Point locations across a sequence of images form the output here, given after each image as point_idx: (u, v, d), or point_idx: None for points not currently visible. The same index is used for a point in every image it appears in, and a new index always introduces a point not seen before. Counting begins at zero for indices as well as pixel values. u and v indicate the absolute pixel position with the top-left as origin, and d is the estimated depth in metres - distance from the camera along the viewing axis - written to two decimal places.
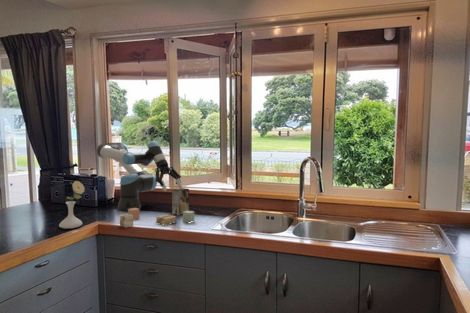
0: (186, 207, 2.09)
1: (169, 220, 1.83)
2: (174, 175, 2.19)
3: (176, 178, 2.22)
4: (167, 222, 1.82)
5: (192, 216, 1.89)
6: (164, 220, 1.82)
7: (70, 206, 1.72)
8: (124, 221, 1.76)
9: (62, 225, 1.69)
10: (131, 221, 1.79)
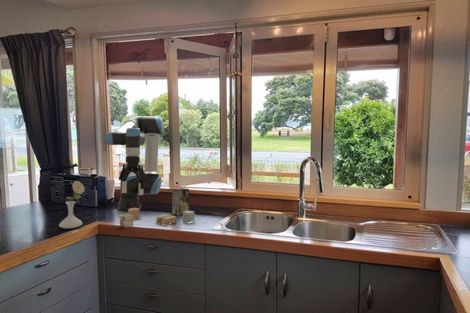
0: (186, 207, 2.09)
1: (169, 220, 1.83)
2: (137, 177, 1.76)
3: None
4: (167, 222, 1.82)
5: (192, 216, 1.89)
6: (163, 220, 1.82)
7: (70, 206, 1.72)
8: (124, 221, 1.76)
9: (62, 225, 1.69)
10: (131, 221, 1.79)
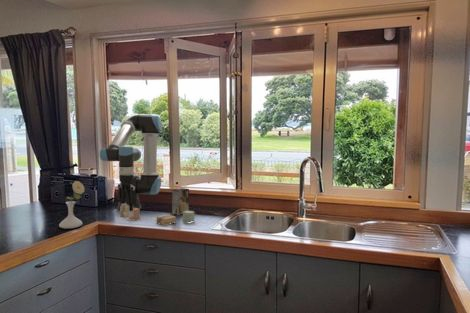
0: (186, 207, 2.09)
1: (168, 220, 1.83)
2: (127, 198, 1.77)
3: None
4: (166, 222, 1.82)
5: (192, 216, 1.89)
6: (163, 220, 1.82)
7: (70, 206, 1.72)
8: (124, 212, 1.76)
9: (62, 225, 1.69)
10: None
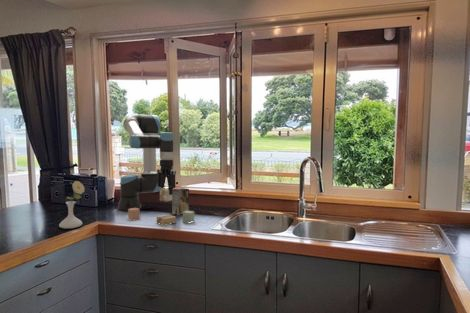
0: (186, 207, 2.09)
1: (168, 220, 1.83)
2: None
3: None
4: (166, 222, 1.82)
5: (192, 216, 1.89)
6: (162, 220, 1.82)
7: (70, 206, 1.72)
8: (164, 195, 1.82)
9: (62, 225, 1.69)
10: None
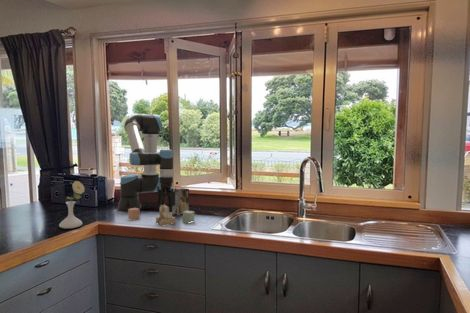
0: (186, 207, 2.09)
1: (167, 221, 1.82)
2: (167, 199, 1.83)
3: None
4: (165, 223, 1.81)
5: (192, 216, 1.89)
6: (161, 221, 1.81)
7: (70, 206, 1.72)
8: (164, 212, 1.83)
9: (62, 225, 1.69)
10: None
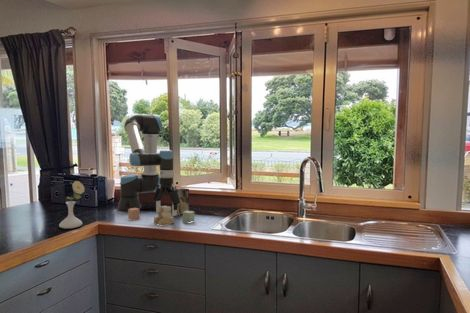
0: (186, 207, 2.09)
1: (166, 221, 1.82)
2: (171, 199, 1.82)
3: None
4: (163, 223, 1.80)
5: (192, 216, 1.89)
6: (160, 221, 1.80)
7: (70, 206, 1.72)
8: (163, 212, 1.82)
9: (62, 225, 1.69)
10: (169, 213, 1.84)
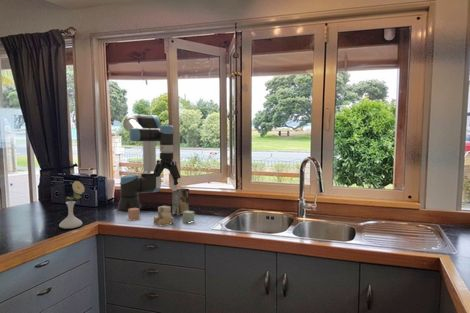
0: (186, 207, 2.09)
1: (165, 221, 1.82)
2: (171, 174, 1.81)
3: None
4: (163, 223, 1.80)
5: (192, 216, 1.89)
6: (159, 221, 1.80)
7: (70, 206, 1.72)
8: (163, 212, 1.82)
9: (62, 225, 1.69)
10: (169, 212, 1.85)
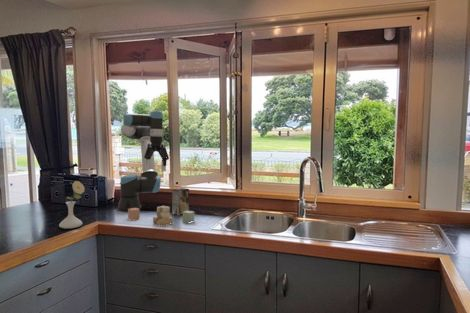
0: (186, 207, 2.09)
1: (165, 221, 1.81)
2: (160, 155, 1.95)
3: None
4: (162, 223, 1.80)
5: (192, 216, 1.89)
6: (159, 221, 1.80)
7: (70, 206, 1.72)
8: (162, 212, 1.82)
9: (62, 225, 1.69)
10: (168, 212, 1.85)
